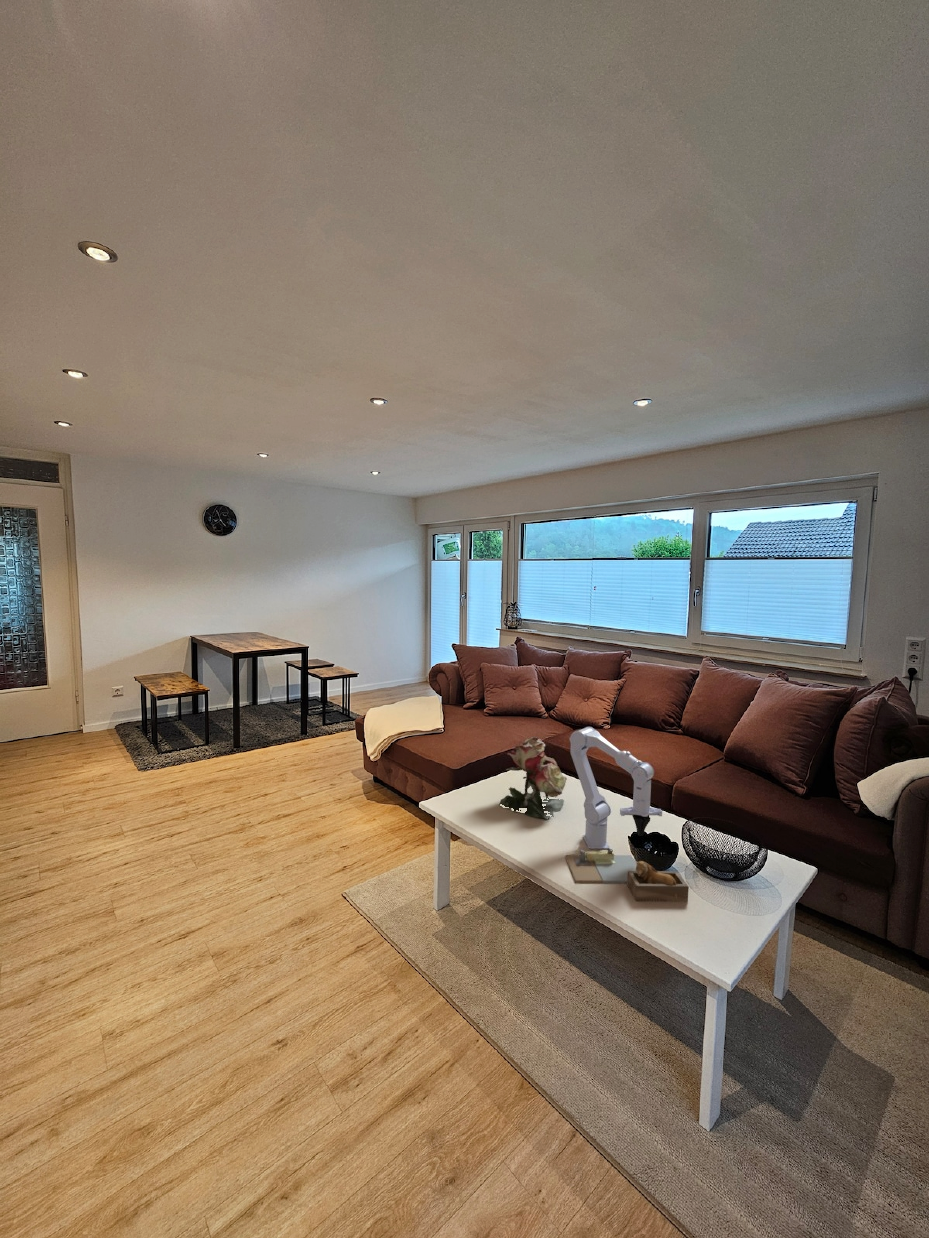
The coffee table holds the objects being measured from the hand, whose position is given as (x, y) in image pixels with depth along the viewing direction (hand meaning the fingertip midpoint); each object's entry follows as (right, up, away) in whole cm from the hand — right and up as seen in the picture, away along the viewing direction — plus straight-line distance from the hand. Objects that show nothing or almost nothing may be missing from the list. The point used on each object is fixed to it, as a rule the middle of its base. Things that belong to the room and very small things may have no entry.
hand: (640, 834), depth 183 cm
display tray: (-1, -11, -18) cm, 21 cm away
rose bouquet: (-31, -6, +46) cm, 56 cm away
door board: (-14, -10, -5) cm, 18 cm away
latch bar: (-15, -8, -2) cm, 17 cm away
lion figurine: (-1, -11, -18) cm, 21 cm away
